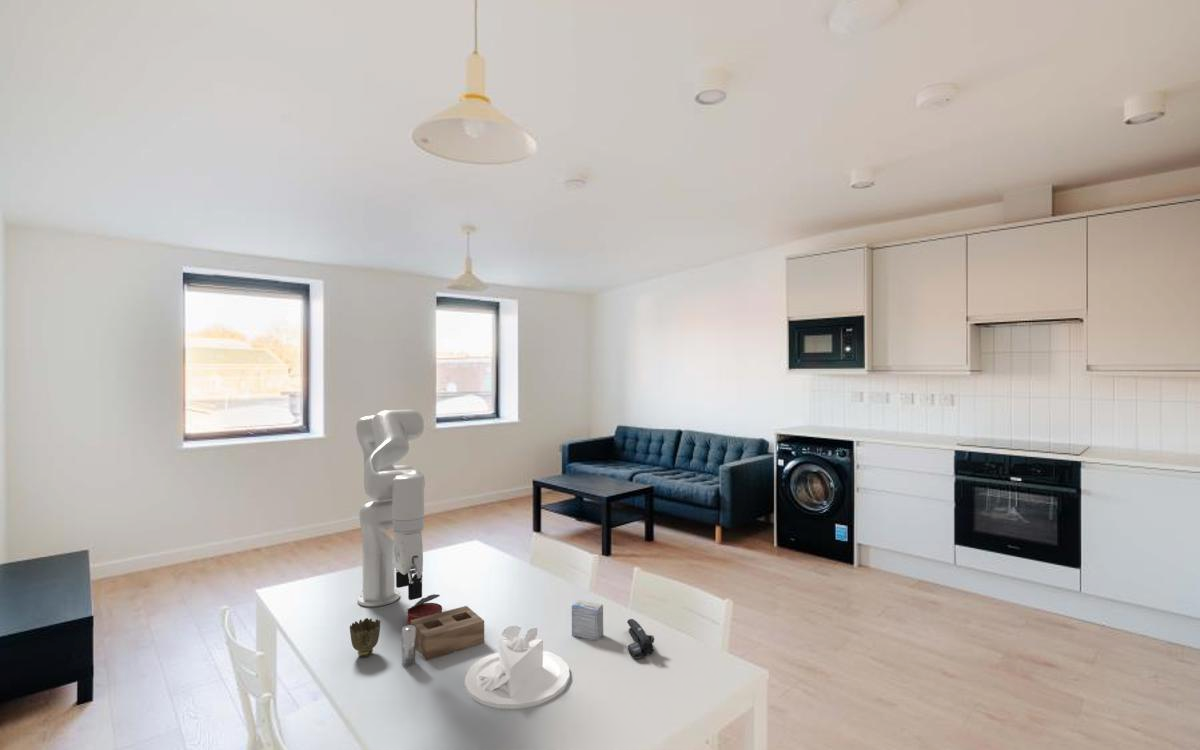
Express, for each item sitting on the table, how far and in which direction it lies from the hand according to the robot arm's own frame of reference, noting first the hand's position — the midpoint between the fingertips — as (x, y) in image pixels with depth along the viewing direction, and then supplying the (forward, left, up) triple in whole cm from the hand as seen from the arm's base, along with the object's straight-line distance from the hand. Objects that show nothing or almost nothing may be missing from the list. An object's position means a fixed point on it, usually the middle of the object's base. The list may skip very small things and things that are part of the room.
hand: (408, 592), depth 143 cm
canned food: (-23, +12, -19) cm, 32 cm away
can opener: (+26, +53, -19) cm, 62 cm away
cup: (-11, -8, -18) cm, 23 cm away
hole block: (-5, +12, -18) cm, 22 cm away
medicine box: (+14, +45, -18) cm, 51 cm away
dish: (+22, +19, -19) cm, 34 cm away
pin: (0, 0, -18) cm, 18 cm away
